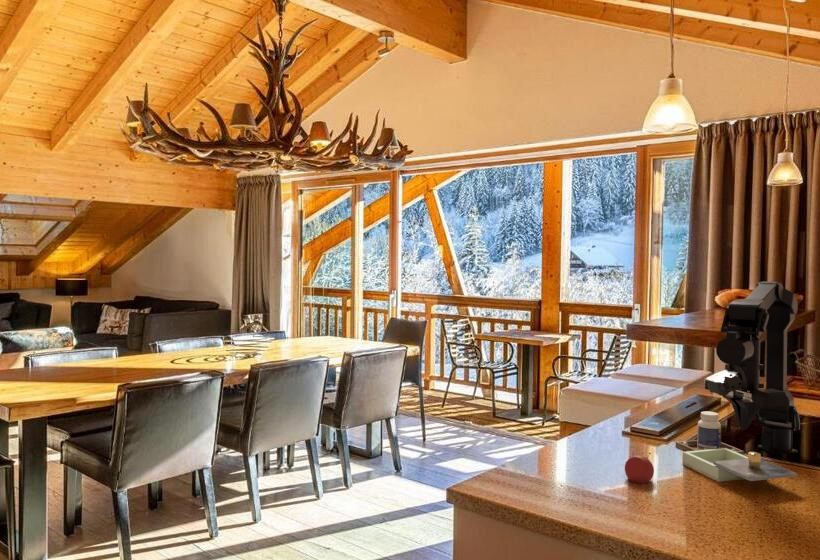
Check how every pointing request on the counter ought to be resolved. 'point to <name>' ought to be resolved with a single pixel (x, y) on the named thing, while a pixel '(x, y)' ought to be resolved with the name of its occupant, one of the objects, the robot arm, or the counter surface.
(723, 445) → the frame
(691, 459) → the box
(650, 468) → the fruit
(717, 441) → the pill bottle
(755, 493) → the counter surface
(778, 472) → the lid
